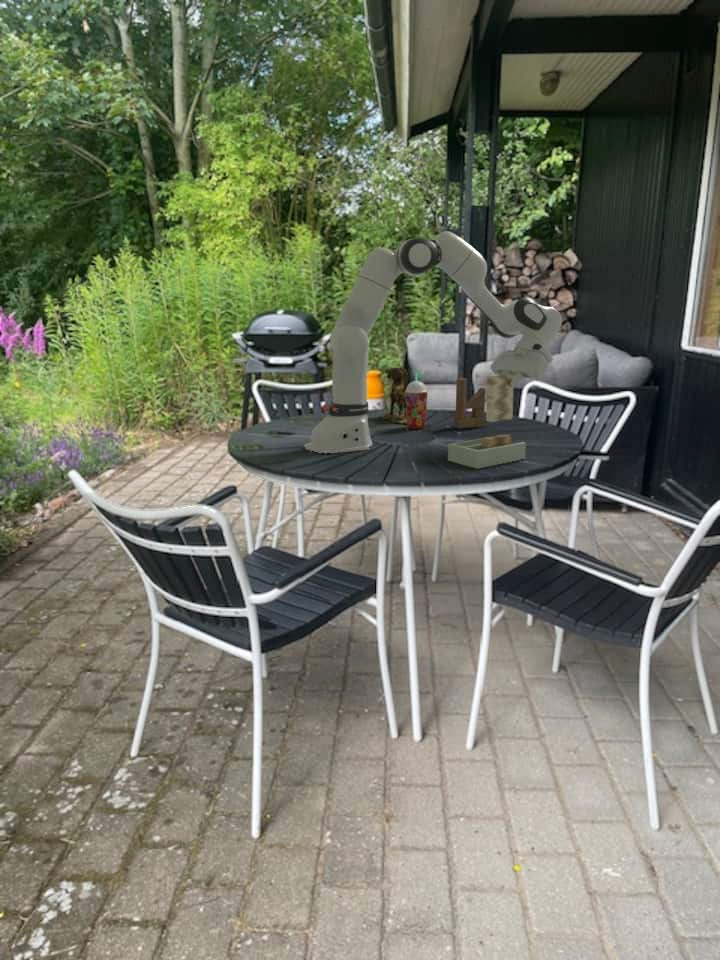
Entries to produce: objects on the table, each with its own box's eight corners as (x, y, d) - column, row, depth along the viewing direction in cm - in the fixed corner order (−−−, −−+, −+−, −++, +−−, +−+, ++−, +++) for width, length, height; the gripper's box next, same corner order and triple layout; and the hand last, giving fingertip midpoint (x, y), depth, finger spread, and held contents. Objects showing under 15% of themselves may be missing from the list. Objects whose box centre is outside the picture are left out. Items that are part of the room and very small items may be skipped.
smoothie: (427, 425, 261) (428, 371, 256) (427, 430, 253) (427, 374, 248) (405, 425, 262) (405, 372, 257) (404, 429, 254) (404, 374, 249)
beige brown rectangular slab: (492, 422, 220) (493, 377, 216) (486, 420, 222) (487, 376, 218) (512, 418, 225) (513, 374, 221) (506, 417, 227) (507, 374, 223)
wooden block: (484, 427, 258) (485, 377, 253) (458, 429, 254) (459, 379, 250) (479, 425, 261) (480, 376, 256) (453, 427, 258) (454, 378, 253)
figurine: (407, 413, 289) (407, 364, 283) (421, 424, 265) (422, 370, 260) (376, 415, 287) (376, 365, 282) (388, 425, 263) (388, 371, 258)
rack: (477, 468, 197) (477, 451, 195) (447, 460, 207) (448, 443, 206) (524, 459, 207) (525, 442, 206) (494, 451, 217) (495, 436, 216)
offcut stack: (487, 464, 201) (488, 439, 199) (477, 462, 204) (478, 436, 202) (511, 460, 206) (512, 435, 204) (501, 457, 209) (502, 433, 207)
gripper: (500, 343, 231) (477, 375, 228) (548, 346, 215) (524, 381, 212) (509, 356, 235) (487, 388, 232) (557, 360, 218) (534, 394, 215)
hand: (505, 385), depth 222 cm, fingers closed on beige brown rectangular slab, 3 cm apart
